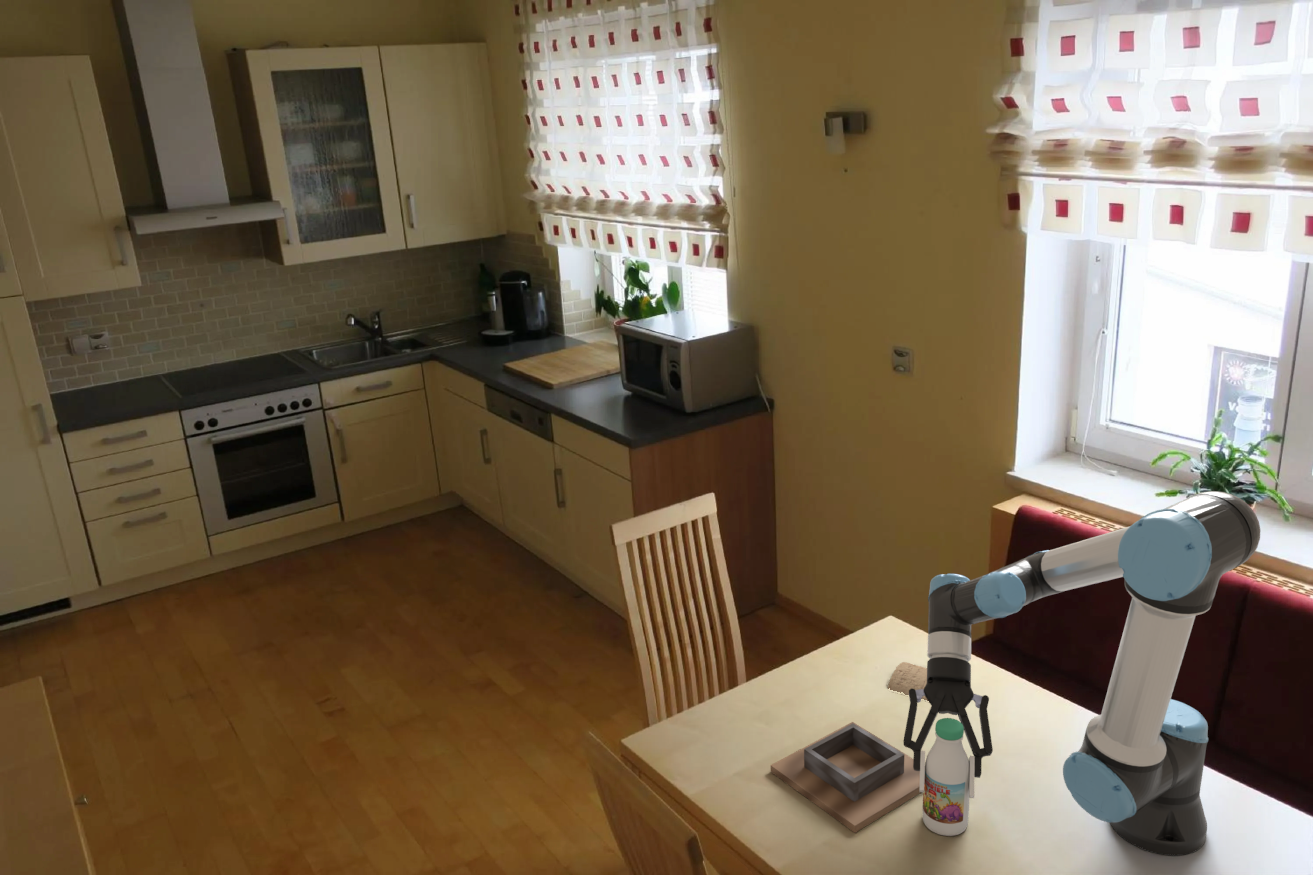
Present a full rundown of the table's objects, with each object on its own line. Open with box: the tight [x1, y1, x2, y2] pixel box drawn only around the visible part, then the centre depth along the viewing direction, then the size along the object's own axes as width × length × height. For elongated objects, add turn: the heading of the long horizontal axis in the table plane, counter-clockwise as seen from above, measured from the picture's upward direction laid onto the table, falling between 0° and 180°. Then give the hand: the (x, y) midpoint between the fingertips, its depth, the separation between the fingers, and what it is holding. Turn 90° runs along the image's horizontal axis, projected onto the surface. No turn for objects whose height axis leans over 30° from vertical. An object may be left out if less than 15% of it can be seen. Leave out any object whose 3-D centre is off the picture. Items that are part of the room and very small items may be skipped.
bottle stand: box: [770, 721, 922, 833], centre depth 191 cm, size 22×22×6 cm
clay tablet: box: [887, 661, 928, 701], centre depth 221 cm, size 14×10×3 cm
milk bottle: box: [922, 717, 970, 837], centre depth 176 cm, size 8×8×20 cm
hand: (946, 793), depth 173 cm, fingers closed on milk bottle, 7 cm apart
